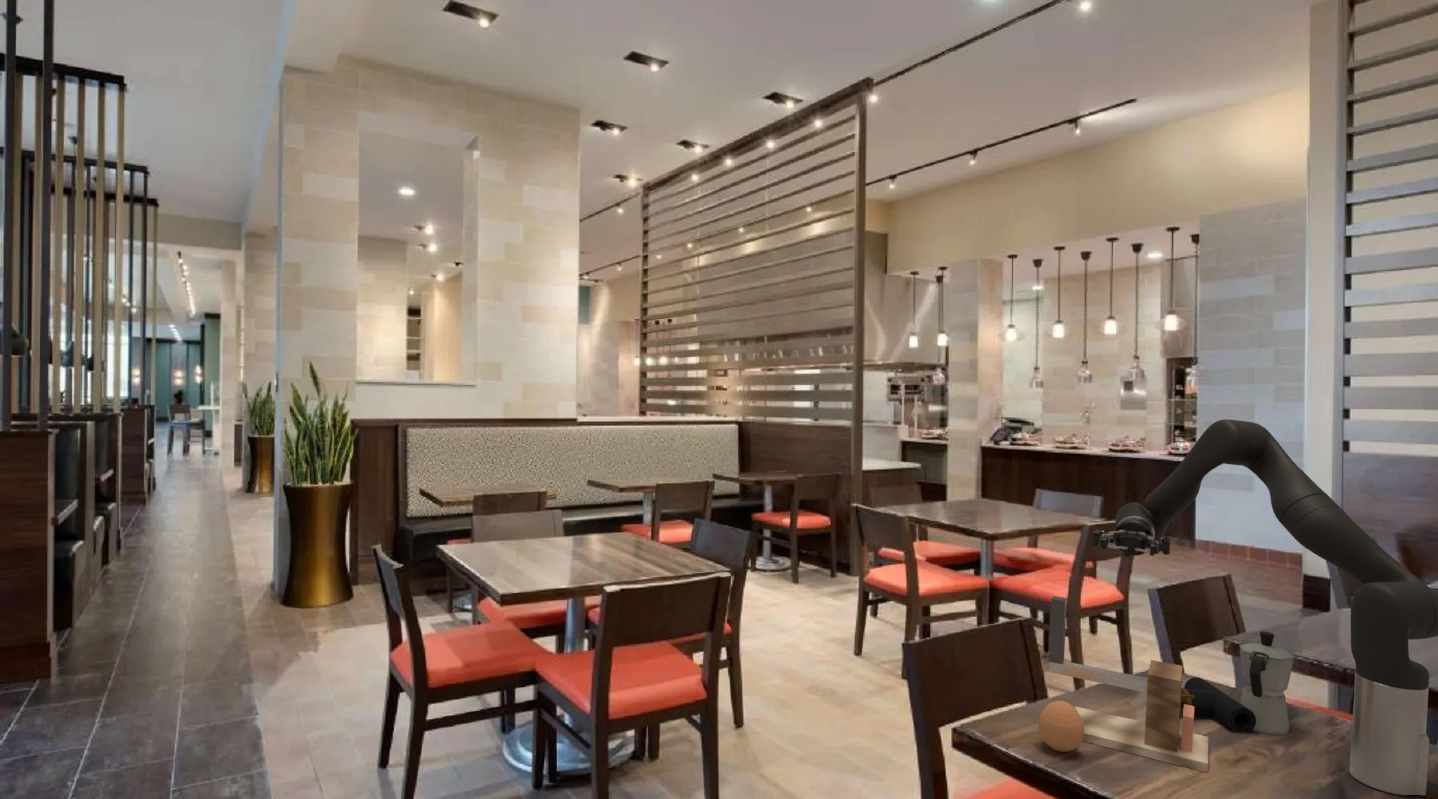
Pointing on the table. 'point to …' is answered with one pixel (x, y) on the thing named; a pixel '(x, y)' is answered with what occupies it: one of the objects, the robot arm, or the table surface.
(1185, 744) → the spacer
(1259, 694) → the coffee maker
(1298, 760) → the table surface
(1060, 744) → the egg
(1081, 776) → the table surface
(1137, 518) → the robot arm
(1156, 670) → the block
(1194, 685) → the pipe connector
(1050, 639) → the gray l-shaped bracket
